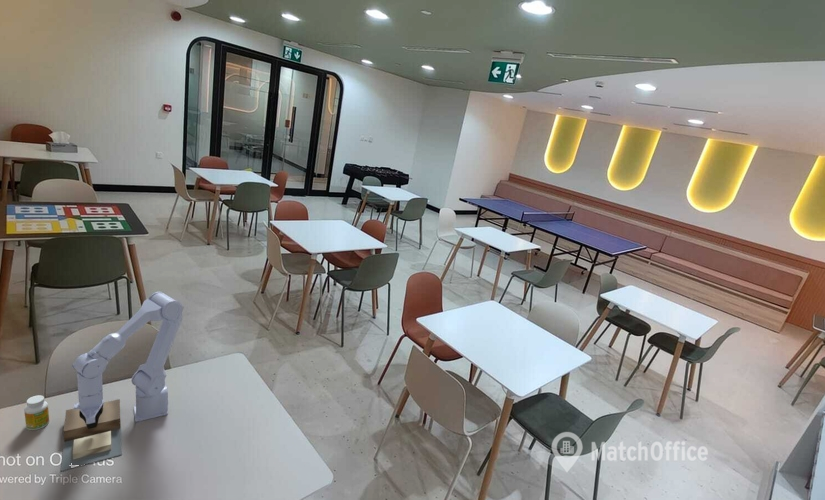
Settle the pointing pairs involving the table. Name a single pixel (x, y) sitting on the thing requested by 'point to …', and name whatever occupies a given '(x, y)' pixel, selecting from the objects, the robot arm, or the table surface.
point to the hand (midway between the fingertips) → (92, 426)
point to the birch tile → (92, 445)
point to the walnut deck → (106, 422)
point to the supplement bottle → (36, 413)
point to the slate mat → (100, 456)
